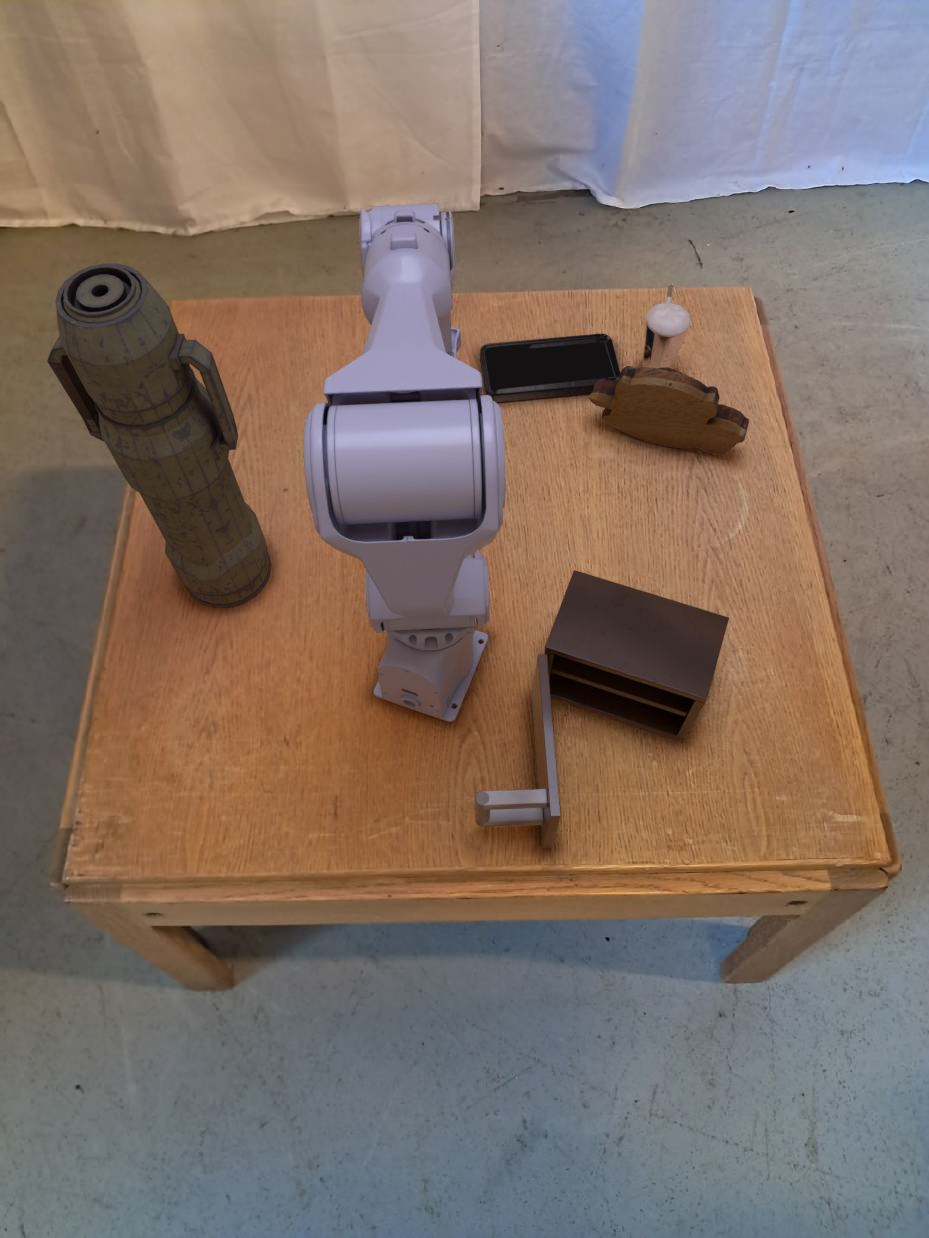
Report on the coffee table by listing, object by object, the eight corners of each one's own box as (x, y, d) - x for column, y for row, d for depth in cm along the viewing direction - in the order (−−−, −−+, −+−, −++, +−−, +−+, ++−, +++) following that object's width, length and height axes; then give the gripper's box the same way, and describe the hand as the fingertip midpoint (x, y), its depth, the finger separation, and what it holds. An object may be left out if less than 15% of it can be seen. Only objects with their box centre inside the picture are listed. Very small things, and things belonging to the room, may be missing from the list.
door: (476, 850, 76) (475, 819, 68) (470, 702, 83) (469, 657, 75) (552, 848, 77) (561, 816, 68) (540, 699, 83) (547, 654, 75)
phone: (623, 383, 100) (487, 396, 99) (621, 391, 101) (487, 403, 100) (609, 332, 103) (479, 343, 103) (608, 339, 104) (478, 350, 104)
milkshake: (675, 355, 103) (693, 285, 95) (675, 391, 101) (694, 322, 92) (634, 353, 104) (649, 282, 95) (634, 388, 101) (649, 319, 92)
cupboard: (683, 742, 81) (707, 699, 73) (538, 694, 83) (544, 646, 75) (704, 666, 85) (729, 617, 76) (564, 622, 87) (573, 569, 79)
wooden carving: (740, 436, 98) (766, 369, 89) (735, 469, 95) (761, 403, 87) (588, 408, 100) (599, 340, 91) (580, 440, 98) (591, 373, 89)
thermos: (173, 534, 92) (22, 245, 62) (290, 532, 92) (196, 241, 62) (160, 610, 88) (-8, 340, 58) (282, 608, 88) (178, 337, 57)
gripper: (428, 425, 68) (436, 529, 80) (494, 297, 74) (492, 410, 86) (342, 401, 69) (362, 507, 81) (414, 277, 76) (423, 391, 88)
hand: (424, 456), depth 84 cm, fingers closed
